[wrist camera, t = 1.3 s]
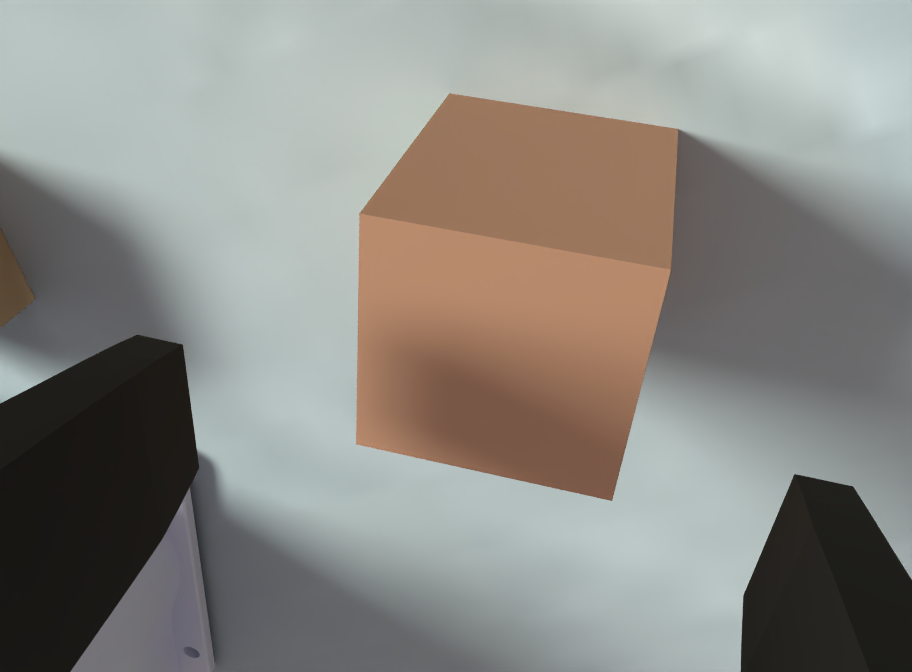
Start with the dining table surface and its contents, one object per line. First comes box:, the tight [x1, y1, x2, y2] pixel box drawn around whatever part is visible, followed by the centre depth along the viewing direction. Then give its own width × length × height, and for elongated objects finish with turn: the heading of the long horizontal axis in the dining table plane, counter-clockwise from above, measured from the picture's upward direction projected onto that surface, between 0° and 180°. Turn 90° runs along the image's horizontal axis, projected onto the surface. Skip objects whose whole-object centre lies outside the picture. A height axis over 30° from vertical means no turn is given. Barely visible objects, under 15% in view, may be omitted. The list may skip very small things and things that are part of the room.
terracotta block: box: [356, 93, 678, 501], centre depth 14 cm, size 4×4×5 cm
